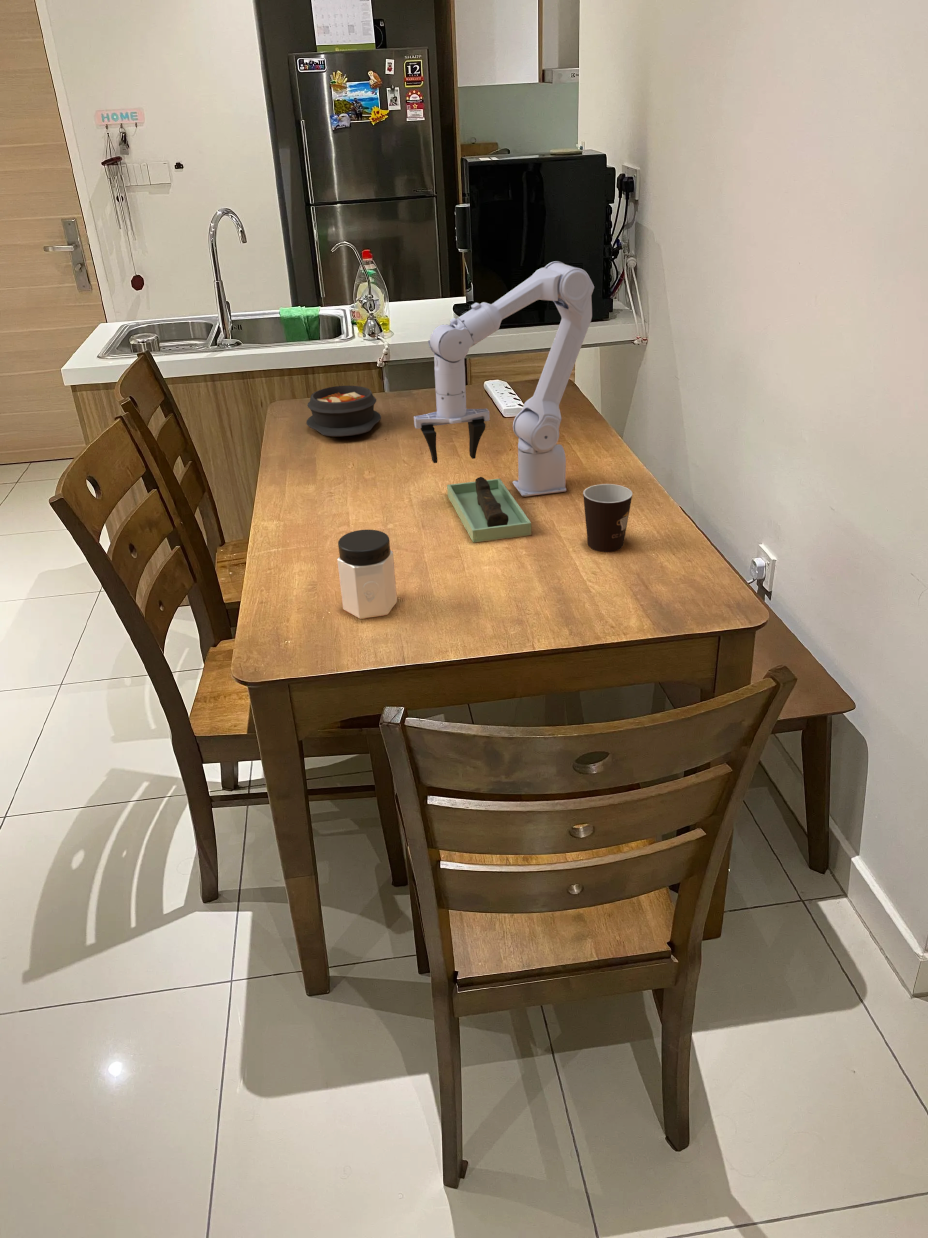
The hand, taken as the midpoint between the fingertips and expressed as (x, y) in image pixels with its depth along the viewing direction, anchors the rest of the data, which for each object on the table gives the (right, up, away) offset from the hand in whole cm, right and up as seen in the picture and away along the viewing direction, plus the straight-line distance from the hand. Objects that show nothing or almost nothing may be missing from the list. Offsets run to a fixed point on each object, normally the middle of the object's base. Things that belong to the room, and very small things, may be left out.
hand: (453, 459), depth 184 cm
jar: (-13, -30, -31) cm, 45 cm away
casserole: (-28, +16, +49) cm, 59 cm away
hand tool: (+6, -11, -1) cm, 13 cm away
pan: (+7, -11, -1) cm, 13 cm away
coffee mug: (+29, -18, -13) cm, 37 cm away
